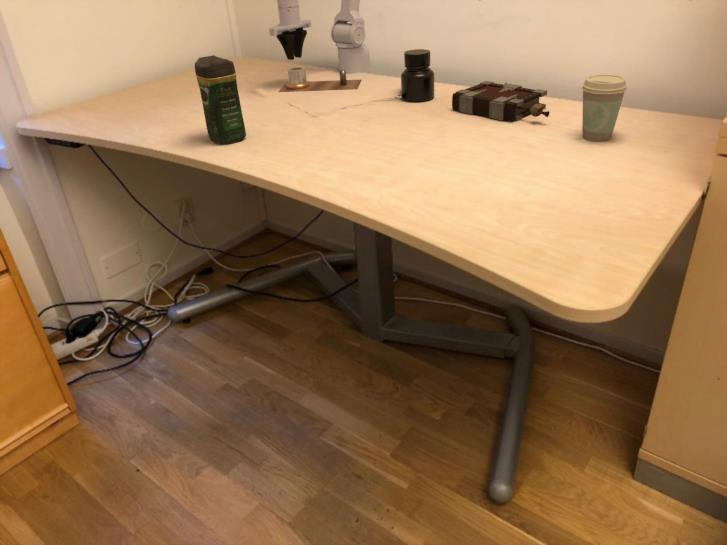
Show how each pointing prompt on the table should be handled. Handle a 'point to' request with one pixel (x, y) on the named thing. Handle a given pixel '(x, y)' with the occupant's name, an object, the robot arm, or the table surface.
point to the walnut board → (325, 86)
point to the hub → (297, 85)
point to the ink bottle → (417, 76)
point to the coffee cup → (601, 105)
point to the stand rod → (343, 77)
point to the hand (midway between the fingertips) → (294, 58)
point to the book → (499, 101)
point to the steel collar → (297, 76)
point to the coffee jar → (220, 99)
